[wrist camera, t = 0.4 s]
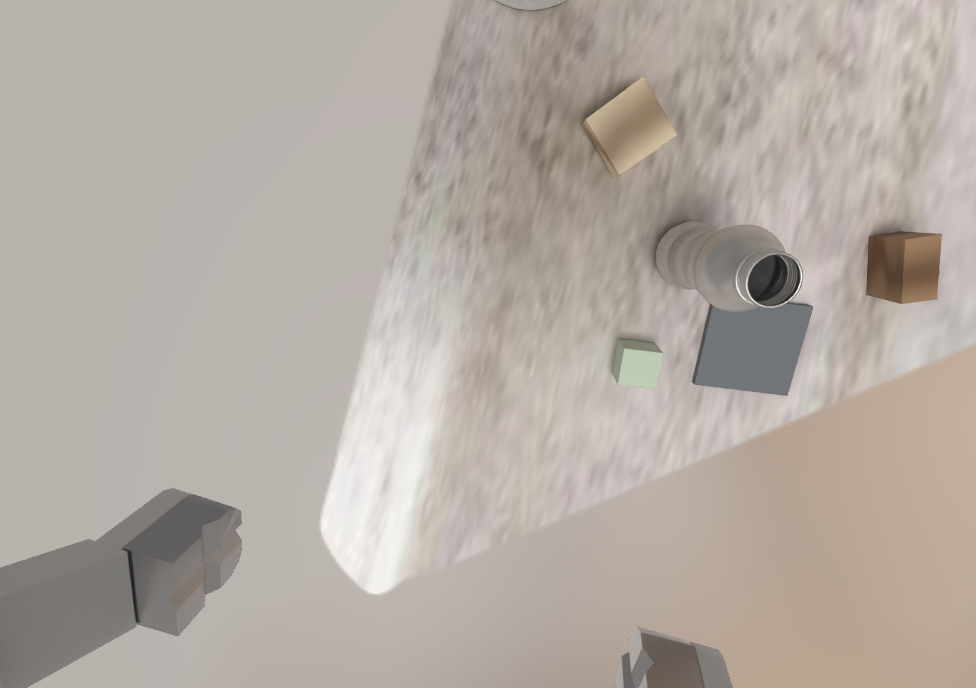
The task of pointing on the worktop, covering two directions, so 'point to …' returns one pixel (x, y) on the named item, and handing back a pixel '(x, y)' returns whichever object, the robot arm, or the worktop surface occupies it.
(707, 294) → the plastic bottle
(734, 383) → the mat
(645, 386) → the sage brick
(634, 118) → the beech brick
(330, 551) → the worktop surface
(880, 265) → the walnut brick
